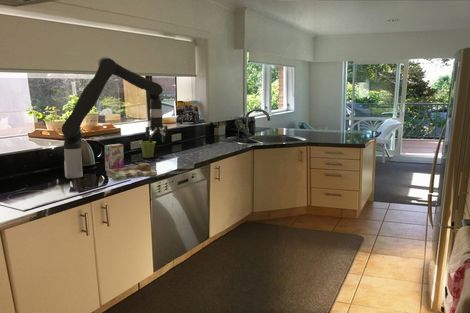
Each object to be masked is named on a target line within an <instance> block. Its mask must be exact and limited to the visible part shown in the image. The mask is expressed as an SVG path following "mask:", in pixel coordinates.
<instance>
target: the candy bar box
mask: <svg viewBox="0 0 470 313" xmlns="http://www.w3.org/2000/svg"><path fill="white" fill-rule="evenodd" d="M124 147H125V146H124V144H122V143H115V144H114V143H113V144H105V145H104V168H105V169H104V170H105V171H106V172H107V169H106V168H109V169H119V168H125V161H124V160H125V157H124V153H125V152H124V151H125V150H124V149H125V148H124Z"/></svg>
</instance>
